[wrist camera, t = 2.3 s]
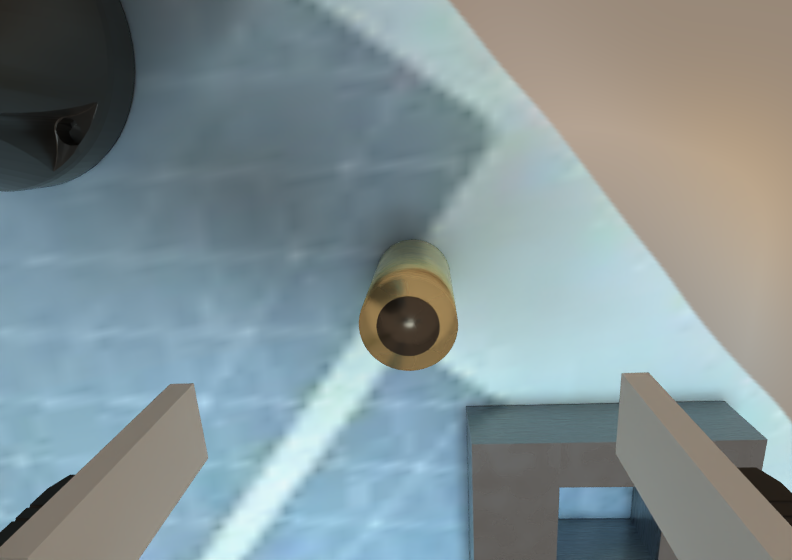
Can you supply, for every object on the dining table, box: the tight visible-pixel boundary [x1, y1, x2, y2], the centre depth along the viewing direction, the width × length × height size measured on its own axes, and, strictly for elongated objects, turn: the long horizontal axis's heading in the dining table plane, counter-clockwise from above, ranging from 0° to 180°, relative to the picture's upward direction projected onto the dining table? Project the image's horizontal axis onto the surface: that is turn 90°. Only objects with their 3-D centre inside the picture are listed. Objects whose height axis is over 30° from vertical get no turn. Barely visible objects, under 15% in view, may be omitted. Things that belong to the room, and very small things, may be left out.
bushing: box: [359, 240, 458, 371], centre depth 25 cm, size 4×4×8 cm
